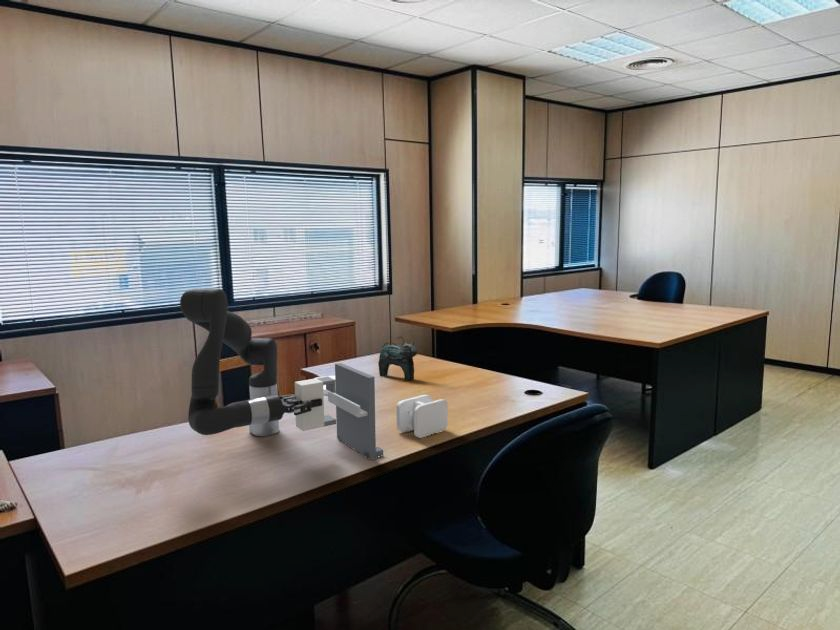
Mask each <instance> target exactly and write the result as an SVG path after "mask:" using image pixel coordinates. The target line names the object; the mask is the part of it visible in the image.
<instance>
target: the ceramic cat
mask: <svg viewBox="0 0 840 630" xmlns="http://www.w3.org/2000/svg"><path fill="white" fill-rule="evenodd" d="M399 338H401V339H402V341H403V342H402V345H400V344H397V343H394V342H385V343H384V344H383V346H382V349H381V351H380V353H379V356H378V357H379V359H378V372H379V376H380V377H383V378H385V377H388V376H389V375H388V374H389V368H390V366H392V365H394V366H397V367H399V368H401V369H402V372H403V375H404V377H403V380H404V381H410V382H411V381H413V380H414V379H415V364H414V357H416V356H417V354H418V348H417V346H416V343H415V342H414V341H412V342H411V343H407V342H406V341H405V340H404V337H403V336H398V337H397V338H396V339H397V340H399ZM387 344H393V345H387Z"/></svg>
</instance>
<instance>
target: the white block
mask: <svg viewBox="0 0 840 630" xmlns="http://www.w3.org/2000/svg"><path fill="white" fill-rule="evenodd" d="M320 377H321V378H317V377H314V378H315V379H314V378H311V379H305V380H299V381H294V394H295V396H296V400H297V399H301V400H302V401H306V400H314V399H319V398H321V399H322V406H318V407H313V408H311V410H312V411H309V412H306V413H303V414H299V415H295V427H296V428H297V429H299V430H301V431H302V432H306V431H310V430H315V429H319V428H324V427H328V426H329V427H330V426H333V425H337V420H336V418H334V417H333V416H331V415H330V414H328V415H325V398H324V396H325V395H324V391H323V385H326V390H328V391H330V392H332V393H336V391H335V380H334V379H332V378H330V377H325V376H320ZM298 403H299V402H298ZM303 404H304V403H303ZM299 405H300V403H299ZM305 407H307V406H305Z"/></svg>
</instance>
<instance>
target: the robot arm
mask: <svg viewBox="0 0 840 630" xmlns="http://www.w3.org/2000/svg"><path fill="white" fill-rule="evenodd" d="M179 301H180V302H179V305H180V309H181V313H182V315H183V316H184V318H185V319H187V321H189V322H190V323H193V324H194V325H197V326H199V327H201V328H203V329H205V330H206V331H208V335H207V339H206V340H205V342H204V344H203V346H202V348H201V349H200V350H199V353H198V354H197V356H196V358H195V360H194V361H193V365H192V368H191V389H190V390H191V396H190V401H189V407H188V414H187V415H188V417H187V419H188V424H189V427H190V428H191V430H193V431H195V432H196V433H198V434H199V435H203V436H212V435H216V434H220V433H222V432H223V433H224V432H226V431H229V430H231V429H234V428H242V427H246V426H248V428H249V429H248V431H249V433H250V434H252V435H253V436H257V437H269V436H272V435H275V434H277V433H279V431H280V424H279V422H280V421H281V420H282V419H283V417H284V414H285V413H286V414H293V416H296V415H299V414H303V413H306V412H309V411H312V410H311V408H313V407H318V406H322V399H321V398H319V399H314V400H306V401H302V400H301V399H297V400H296V396H295V393H292V394H284V395H283V394H282V395H279V393H278V345H277V344H278V343H277V342H276V340H275V339H274V338H270V337H252V334H253V333H252V332H253V331H252V328H251V326H250V324H249V323H248V322H247V321H246V320H245V319H244V318H243V317H242V316H240V315H238V314H237V313H234V312H232V311H229V310H228V309H229V308H228V307H229V304H228V303H229V302H228V297H227V294H226V292H225V290H223V289H222V288H214V287H213V288H212V287H211V288H210V287H209V288H208V287H207V288H206V287H205V288H202V287H197V288H191V289H187V290H186V291H184V292H183V293H182V295H181V297H180V300H179ZM223 344H225V345H226V346H228V347H229V348H231V350H233V351H234V352H236V354H237V355H238V356H239V357H240V358H241V359H242V360H243V362H244V363H246V364H248V365H253V366H263V370H262V371H259V372H258V373H254V374H252V375H251V376H249V378H248V386H249V399H246V400H241V401H236V402H235V401H234V402H231V403H229V404H227V405H225V406H220V407H215V403H216V398H217V396H218V395H219V391H220V390H219V389H220V361H221V355H222V348H223ZM298 402H299V403H300V405H299V403H298ZM303 403H304V404H303ZM305 406H307V407H305Z"/></svg>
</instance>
